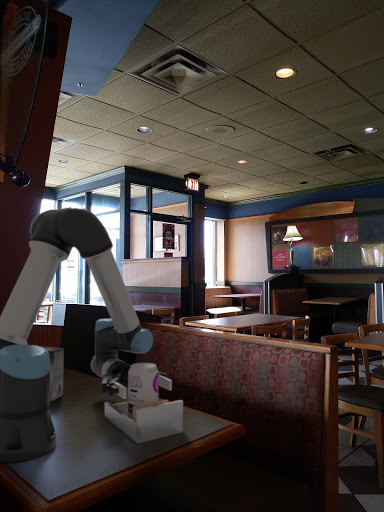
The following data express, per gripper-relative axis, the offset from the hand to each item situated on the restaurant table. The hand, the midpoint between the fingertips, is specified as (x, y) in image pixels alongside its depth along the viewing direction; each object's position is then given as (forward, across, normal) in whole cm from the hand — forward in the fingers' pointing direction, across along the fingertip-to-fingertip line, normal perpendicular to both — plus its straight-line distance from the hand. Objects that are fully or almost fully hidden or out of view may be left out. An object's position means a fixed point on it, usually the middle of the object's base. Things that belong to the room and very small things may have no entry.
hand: (148, 389), depth 107 cm
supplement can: (-3, 0, -10) cm, 10 cm away
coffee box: (-43, +16, -11) cm, 47 cm away
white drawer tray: (-4, 0, -10) cm, 11 cm away
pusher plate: (+1, 0, -9) cm, 9 cm away
